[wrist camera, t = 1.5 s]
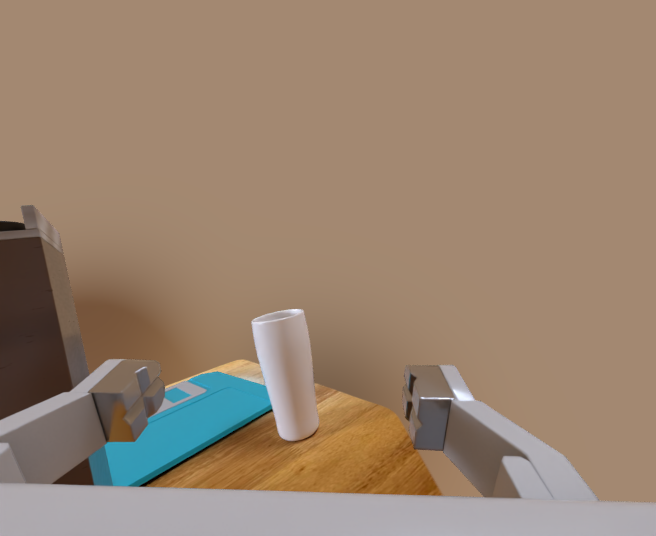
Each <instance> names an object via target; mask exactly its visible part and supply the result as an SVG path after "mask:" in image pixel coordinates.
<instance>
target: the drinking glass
mask: <svg viewBox="0 0 656 536" xmlns="http://www.w3.org/2000/svg"><path fill="white" fill-rule="evenodd" d="M251 323H252V330H253V336H254V342H255V348H256V352H257V356H258V360H259V363H260V367H261V370H262V374H263V377H264V381H265V384H266V388H267V391H268V395H269V398H270V402H271V405H272V409H273V413H274V416H275V420H276V425H277V430H278V434H279V436H280V437H281V438H282V439H284V440H287V441H298V440H302V439H305V438H307V437H309V436H311V435H312V434H313V433H314V432H315V431H316V430H317V429H318V426H319V416H318V411H317V403H316V394H315V385H314V376H313V367H312V355H311V346H310V339H309V333H308V327H307V323H306V319H305V314H304V311H303V310H302V309H290V310H283V311H279V312H274V313H270V314H266V315H263V316H260V317H257V318H255V319H253V320H252V322H251Z"/></svg>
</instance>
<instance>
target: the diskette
mask: <svg viewBox="0 0 656 536" xmlns="http://www.w3.org/2000/svg"><path fill="white" fill-rule="evenodd" d="M271 409H272V405H271V402H270V398H269V395H268V391H267V388H266V386H264V385H261V384H258V383H254V382H251V381H248V380H244V379H241V378H238V377H234V376H231V375H228V374H224V373H221V372H218V371H217V372H212V373H206V374H201V375H198V376H196V377H193V378H191V379H190V380H188V381H184V382H181V383H179V384H176V385H174V386H171V387H169V388H166V389H165V397H164V400H163V403H162V406H161V407H160V408H159V410H158V411H157V413H155V414H154V415H152V416H150V417H149V418H148V425H147V427H146V428H145V429H144V431H143V432H142V433H141V435H140V436H139V437H138V439H137V440H136V442H107V444H106V445H105V450H106V455H107V459H108V464H109V469H110V473H111V478H112V483H113V486H130V487H138V486H140V485H142V484H143V483H145V482H147V481H149V480H150V479H152V478H154V477H155V476H157V475H159V474H161V473H162V472H164V471H166V470H167V469H169V468H171V467H173V466H174V465H176V464H178V463H180V462H181V461H183V460H185V459H186V458H188V457H190V456H192V455H193V454H195V453H197V452H198V451H200V450H202V449H204V448H205V447H207V446H209V445H210V444H212V443H214V442H216V441H217V440H219V439H221V438H222V437H224V436H226V435H228V434H229V433H231V432H233V431H234V430H236V429H238V428H240V427H241V426H243V425H245V424H247V423H248V422H250V421H252V420H253V419H255V418H257V417H259V416H260V415H262V414H264V413H265V412H267V411H269V410H271Z"/></svg>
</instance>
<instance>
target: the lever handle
mask: <svg viewBox="0 0 656 536" xmlns="http://www.w3.org/2000/svg"><path fill="white" fill-rule="evenodd" d="M18 230H26V228H25V224H23V223H18V222H7V221H0V232H3V231H18Z"/></svg>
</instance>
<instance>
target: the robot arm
mask: <svg viewBox="0 0 656 536" xmlns="http://www.w3.org/2000/svg"><path fill="white" fill-rule="evenodd" d="M160 373H161V368H160V364H159V362H157V361H155V360H132V359H127V360H125V359H110V360H107V361H106V362H104V363H103V364H102V365H101V366H100V367H98V368H97V369H96V370H95V371H94V372H92V373H91V374H90V375H89V376H88V377H87V378H85V379H84V380H83V381H82V382H81V383H79V384H78V385H77V386H76V387H75V388H74V389H72V390H71V391H70V392H63V393H61V394H59V395H57V396H54V397H52V398H50V399H47V400H45V401H43V402H41V403H38V404H36V405H34V406H31V407H29V408H27V409H25V410H22V411H20V412H18V413H15V414H13V415H11V416H9V417H6V418H4V419H2V420H0V536H656V503H655V502H624V501H623V502H622V501H599V499H598V498H597V497H596V495H595V494H594V493H593V491H592V490H591V489H590V488H589V487H588V485H587V484H586V482H585V481H584V480H583V479H582V477H581V476H580V475H579V474H578V472H577V471H576V469H575V468H574V467H573V466H572V464H571V463H570V462H569V460H568V459H567V458H566V457H565V456H564V455H562V454H561V453H559V452H557V451H556V450H555V449H553V448H552V447H550V446H548V445H547V444H545V443H544V442H542V441H541V440H539V439H538V438H536V437H535V436H533V435H532V434H530V433H529V432H527V431H526V430H524V429H522V428H521V427H519V426H518V425H516V424H515V423H513V422H512V421H510V420H508V419H507V418H506V417H504V416H503V415H501V414H500V413H498V412H496V411H495V410H493V409H492V408H490V407H489V406H487V405H486V404H484V403H483V402H481V401H475V399H474V397H473V396H472V394H471V392H470V391H469V389H468V388H467V386H466V384H465V382H464V380H463V379H462V377H461V375H460V374H459V372H458V370H457V369H456V367H455V366H454V365H437V366H431V365H429V366H428V365H422V366H421V365H406V367H405V372H404V377H405V381H406V385H405V386H404V387H403V394H402V398H403V410H404V414H405V418H406V419H407V420H408V421H409V433H410V437H411V441H412V444H413V448H414V449H418V450H436V451H443V453H444V454H445V455H446V456H447V457H448V458H449V459H450V460H451V461H452V463H453V464H454V465H455V466H456V467H457V468H458V469H459V470H460V471H461V472H462V473H463V474H464V476H465V477H466V478H467V479H468V480H469V481H470V482H471V483H472V484H473V485H474V486H475V487H476V488H477V490H478V491H479V492H480V493H481V494H482V495H483V496H484V497H458V496H426V495H390V494H357V493H327V492H296V491H264V490H230V489H197V488H163V487H130V486H97V485H64V484H52V483H53V482H55V481H56V480H57V479H59V478H60V477H62V476H63V475H64V474H66V473H67V472H68V471H70V470H71V469H73V468H74V467H75V466H77V465H78V464H80V463H81V462H82V461H84V460H85V459H86V458H88V457H89V456H91V455H92V454H93V453H95V452H96V451H97V450H99V449H100V448H102V447H103V446H104V445H106V444H107V442H136V440H137V439H138V437H139V436H140V435H141V433H142V432H143V431H144V429H145V428H146V427H147V425H148V418H149V417H150V416H152V415H154V414H155V413H157V411H158V410H159V408H160V407H161V406H162V403H163V400H164V397H165V386H164V382H163V381H162V380H161V379H160V378H159V377H158V376H159V374H160Z"/></svg>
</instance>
